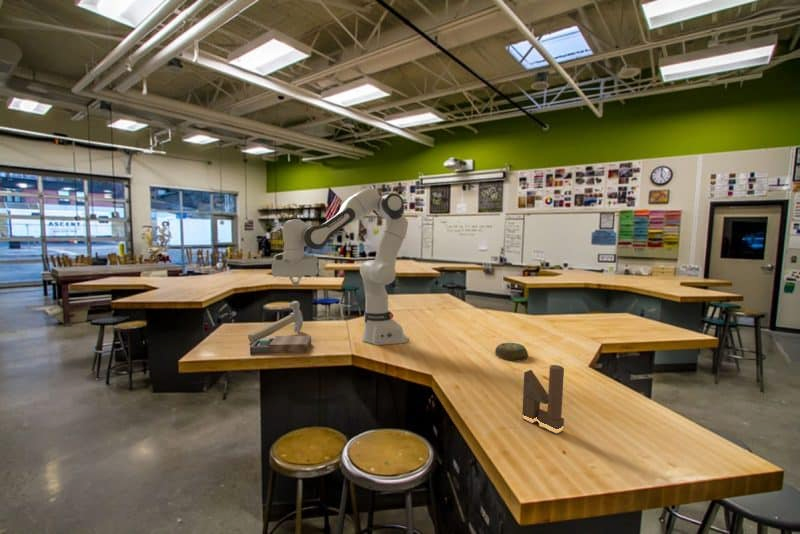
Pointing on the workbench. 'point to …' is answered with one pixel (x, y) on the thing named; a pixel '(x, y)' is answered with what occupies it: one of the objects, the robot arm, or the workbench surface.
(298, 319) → the hammer
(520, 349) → the weight
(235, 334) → the workbench surface
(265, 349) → the tray
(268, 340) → the tile
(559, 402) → the brown letter n
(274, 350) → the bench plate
